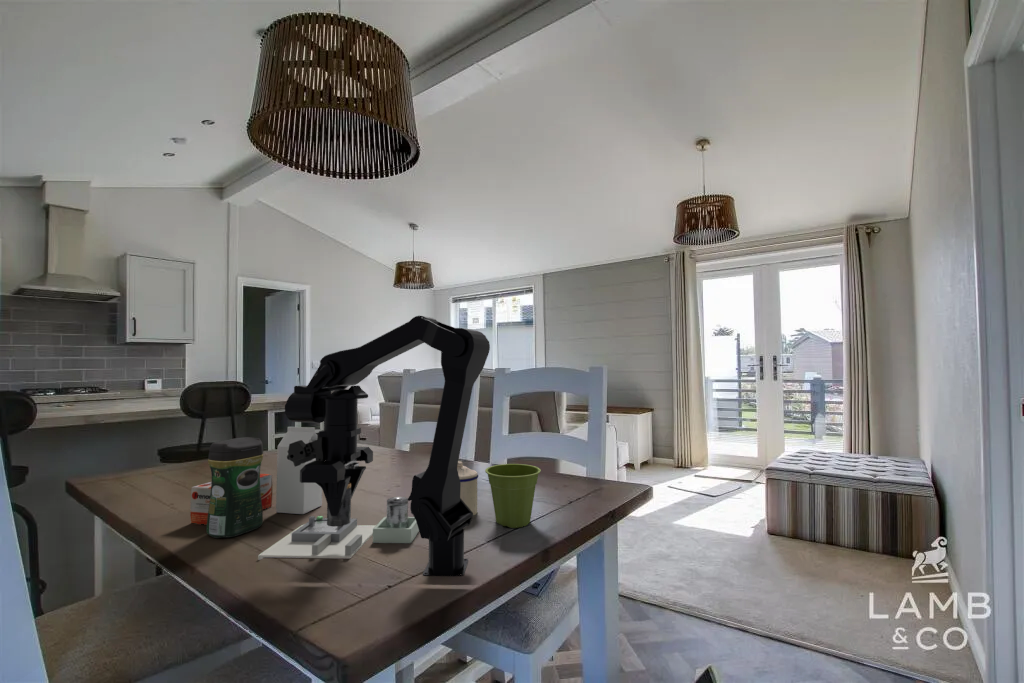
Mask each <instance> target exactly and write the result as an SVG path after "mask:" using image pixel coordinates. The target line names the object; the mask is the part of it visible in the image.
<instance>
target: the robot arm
mask: <svg viewBox="0 0 1024 683" xmlns="http://www.w3.org/2000/svg"><path fill="white" fill-rule="evenodd" d="M423 344H425V345H427V346H428V347H430V348H432V349H435V350H437V351H440V365H441V369H442V370H441V371H442V373H443V374H442V375H443V378H444V379H443V380H444V382H443V389H442V394H441V398H440V404H439V409H438V410H439V411H438V414H437V419H436V424H435V431H434V436H433V442H432V446H431V451H430V456H429V462H428V466H427V468H426V469H425V470H424V471H422V472H420V473H417V474H415V475H413V477H412V481H411V491H410V495H409V496H408V497H407V498H408V502H410V506H409V508H410V514H411V515H413V516H412V517H414V518H415V519H416V522H417V525H418V529H419V532H418V533H419V535H420V538H421V539H425V540H428V562H427V565H425V566H426V567H425V568H424V570H423V572H422V576H424V577H426V576H427V577H464V575H465V572H466V569H467V566H468V563H469V559H468V558H465V528H466V527H468V526H470V525H471V522H472V519H473V517H474V515H473V512H472V511H471V510H470V509H469V508H468V506H467V505H466V504H465V503H464V502H463V500H462V499H461V498H460V487H461V483H460V479H459V475H458V471H457V465H458V461H459V458H460V456H461V455H460V454H461V448H462V445H463V444H462V443H463V438H464V434H465V429H466V423H467V418H468V413H469V408H470V402H471V397H472V393H473V388H474V384H475V383H476V381H477V380H478V377H480V374H481V373H482V371H483V369H484V367H485V365H486V362H487V359H488V356H489V354H490V351H491V350H490V349H491V347H490V340H488V338H487V336H486V335H485V334H484V333H483V332H481V331H479V330H475V329H470V328H469V329H468V328H464V327H454V326H451V325H449V324H446V323H443V322H441V321H439V320H437V319H436V318H434V317H431V316H425V315H416V316H414V317H412V318H411V319H410V320H409V321H407V322H405V323H403V324H402V325H401V324H400V326H398V327H396V328H394V329H392V330H390V331H388V332H385V333H384V334H382V335H381V336H378V337H376V338H374V339H372V340H370V341H368V342H366V343H365V344H363V345H361V346H359V347H354V348H349V349H344V350H339V351H336V352H332V353H329V354H326V355H324V356H323V357H322V358H321V359H320V360H319V366H318V368H317V370H316V371H315V372H314V374H313V376H312V377H311V378H310V379H311V380H310V381H309V382H308V384H307V385H294V387H293V392H292V393H291V394H290V395H289V396H288V398H287V400H286V403H285V404H284V413H285V416H286V417H287V419H288V420H289V421H291V422H295V423H313V424H315V423H316V424H320V423H323V430H320V431H318V433H317V440H315V441H313V442H310V443H307V444H305V443H304V442H303V441H302V440H300V441H297V442H294V443H291V444H289V450H288V456H287V459H288V460H290V461H292V462H293V463H294V466H295V467H296V466H299V465H301V463H302V464H303V463H305V462H308V461H311V460H312V459H314V458H316V461H313V462H311V463H308V464H306V465H305V466H304V467H303V468H302V469H301V470H300V482H301V483H316V484H318V485H319V486H320V487H321V488H322V493H323V495H324V498H325V501H326V505H327V504H328V508H329V511H330V514H331V516H337V515H338V513H339V511H340V508H341V505H342V502H343V499H344V496H345V493H346V490H347V487H348V484H349V481H350V482H351V499H352V498H353V496H354V493H355V491H356V489H357V487H358V484H359V483H360V481H361V479H362V477H363V474H364V472H365V471H366V469H367V466H365V465H359V464H360V463H359V462H365V464H370V463H372V462H373V461H374V451H373V450H372V449H371V448H370V447H369V446H358V435H361V434H362V429H361V428H362V427H358V403H359V402H358V400H362V399H368V398H369V394H367V392H366V391H364V390H363V388H362V387H361V386H360V385H358V384H359V383H360V382H363V381H364V379H366V378H367V377H368V376H370V374H372V372H373V370H375V369H376V368H377V367H378V366H379V365H382V364H384V363H386V362H388V361H390V360H392V359H394V358H396V357H398V356H400V355H402V354H404V353H406V352H408V351H410V350H413V349H414V348H416V347H418V346H420V345H423ZM348 387H349V388H348ZM347 388H348V389H347Z"/></svg>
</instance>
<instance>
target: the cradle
mask: <svg viewBox="0 0 1024 683" xmlns="http://www.w3.org/2000/svg"><path fill="white" fill-rule="evenodd" d="M315 518H316V517H315V515H311V516H309V517H308V522H309V527H308V528H306V529H305V530H304V531H302V532H337V531H338V530H339V529H341V528H342V527H343V526H344V525H343V526H328V525H327V521H316V522H315Z"/></svg>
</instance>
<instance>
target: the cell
mask: <svg viewBox="0 0 1024 683" xmlns="http://www.w3.org/2000/svg"><path fill="white" fill-rule="evenodd" d="M326 518H327V525H328V526H343V525H347V524H349V523H350V522H351V518H352V498H351V482H350V481H349V484H348V487H347V490H346V493H345V496H344V499H343V502H342V505H341V508H340V511H339V513H338V515H337V516H331V514H330V511H329V508H328V504H327V503H326Z"/></svg>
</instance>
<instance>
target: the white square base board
mask: <svg viewBox="0 0 1024 683" xmlns="http://www.w3.org/2000/svg"><path fill="white" fill-rule="evenodd" d="M316 521H327V517H325V518H324V516H323V515H318V516H316V517H315V522H316ZM376 525H377V524H375V525H373V524H372V525H371V524H370V525H369V524H368V525H367V524H366V525H365V524H364V525H360V524H358V518H352V517H351V522H350V523H349V524H347V525H344V526H343V527H342V528H341V529H339V530H338V531H337V532H302V531H304V530H305V529H306V528H308V527H309V521H307V522H306V523H304V524H301V525H300V526H299V527H297V528H296V529H294V530H292V531H291V532H290V533H289V534H287V535H285V536H284V537H283V538H281V539H279V540H278V541H276V542H275V543H273V544H272V545H270V546H269V547H268V548H267V549H265V550H263V551H262V552H261V553H260V554H258V556H257V560H258V561H260V560H262V559H264V558H281V559H283V558H285V559H286V558H287V559H288V558H290V559H292V558H293V559H296V558H297V559H299V558H300V559H345V560H346V559H351V558H352V557H353V556H354V555H355V554H356V553H357V552H358V551H359V550H360V549H362V547H363V546H364V544H366V542H368V541H369V539H371V538H372V537H373V528H374V527H375V526H376Z"/></svg>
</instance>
